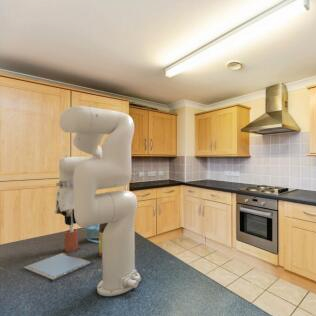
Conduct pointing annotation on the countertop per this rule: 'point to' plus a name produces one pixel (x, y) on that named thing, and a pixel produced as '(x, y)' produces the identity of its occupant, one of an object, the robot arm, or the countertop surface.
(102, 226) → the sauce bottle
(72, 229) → the stylus
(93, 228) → the chair
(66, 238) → the pen pot
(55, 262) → the plate
